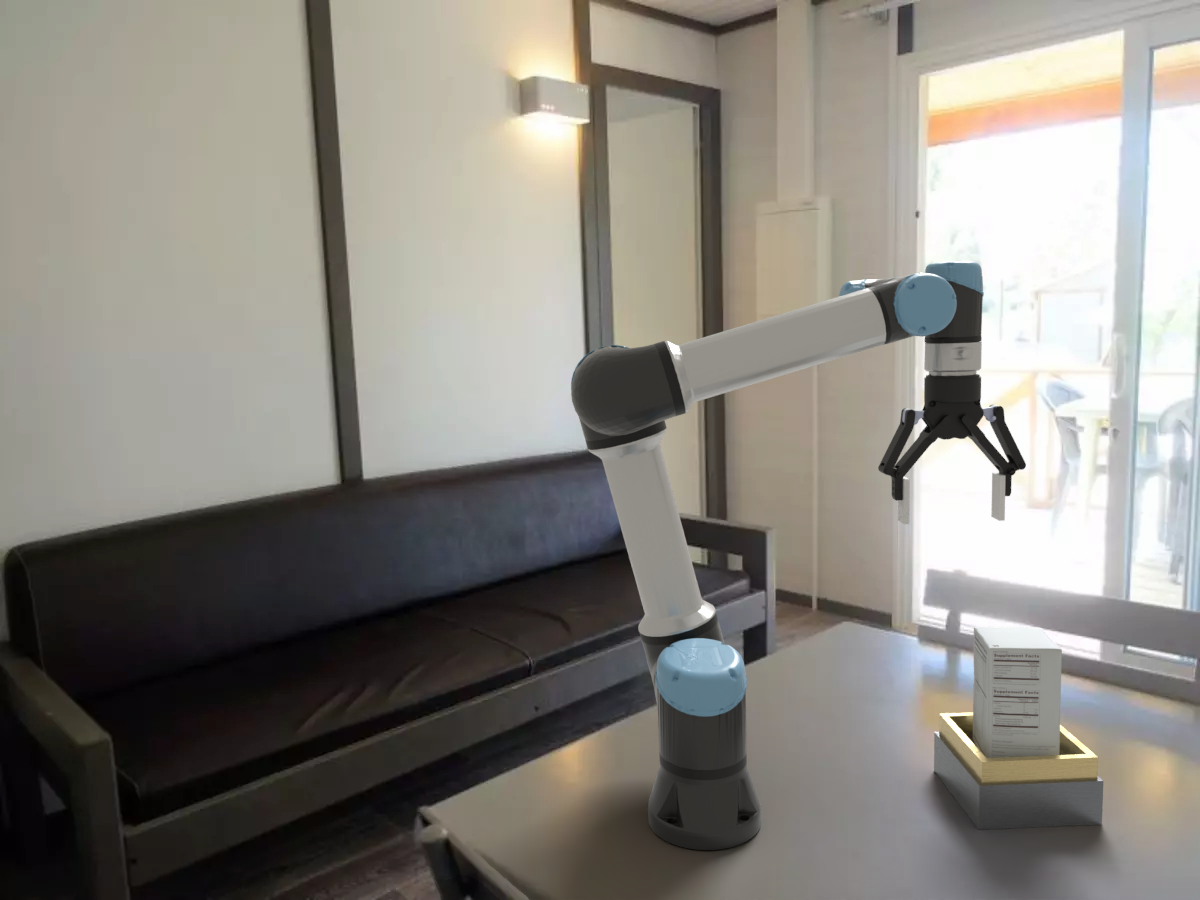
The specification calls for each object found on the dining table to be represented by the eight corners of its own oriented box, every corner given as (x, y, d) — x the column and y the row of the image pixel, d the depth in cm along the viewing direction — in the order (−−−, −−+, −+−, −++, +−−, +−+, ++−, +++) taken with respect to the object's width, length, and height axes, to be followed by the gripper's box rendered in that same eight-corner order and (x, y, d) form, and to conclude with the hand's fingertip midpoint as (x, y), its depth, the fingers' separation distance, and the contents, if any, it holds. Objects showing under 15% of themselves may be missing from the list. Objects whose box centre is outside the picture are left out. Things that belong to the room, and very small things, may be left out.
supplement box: (1060, 772, 123) (1064, 649, 121) (986, 769, 125) (989, 648, 122) (1039, 740, 132) (1042, 625, 130) (970, 738, 134) (972, 624, 132)
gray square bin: (978, 829, 121) (979, 763, 120) (934, 770, 137) (934, 712, 136) (1101, 824, 121) (1104, 758, 120) (1042, 766, 137) (1044, 707, 136)
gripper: (871, 378, 128) (871, 529, 131) (1053, 371, 128) (1049, 522, 131) (856, 375, 136) (857, 518, 139) (1028, 368, 136) (1025, 511, 139)
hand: (950, 520), depth 135 cm, fingers open, 13 cm apart
